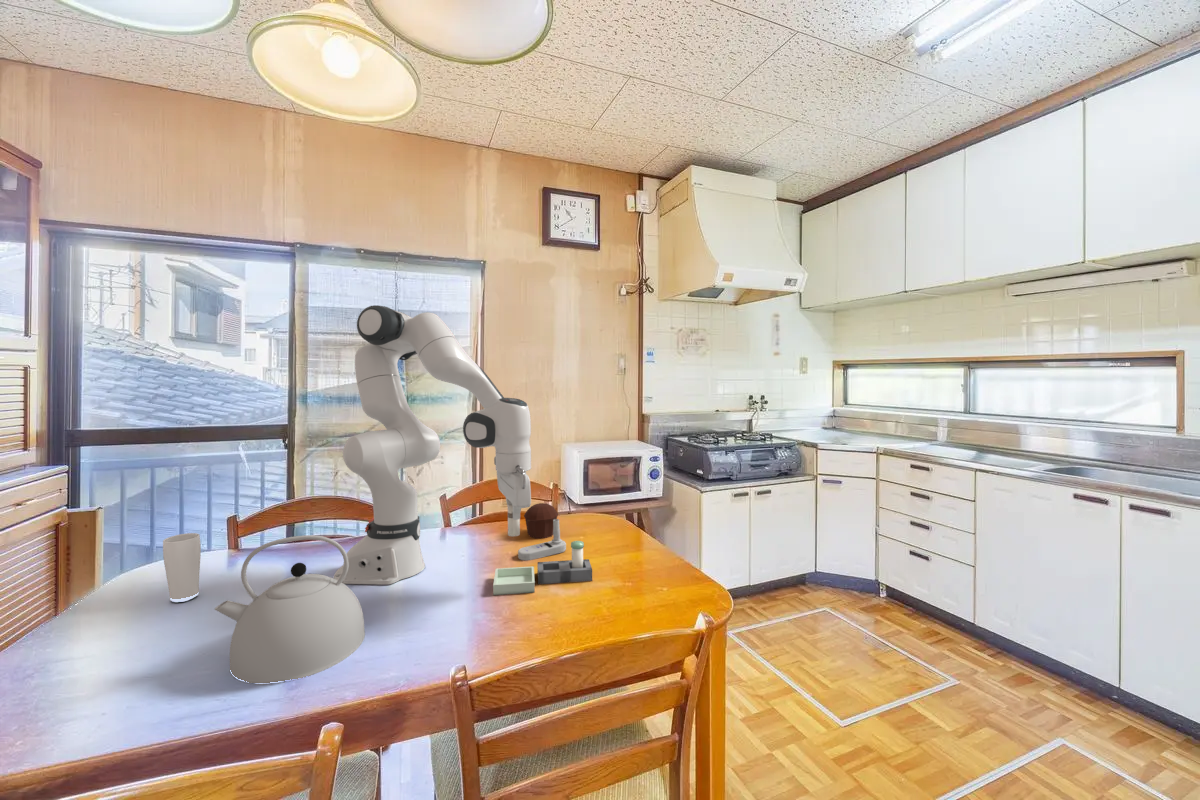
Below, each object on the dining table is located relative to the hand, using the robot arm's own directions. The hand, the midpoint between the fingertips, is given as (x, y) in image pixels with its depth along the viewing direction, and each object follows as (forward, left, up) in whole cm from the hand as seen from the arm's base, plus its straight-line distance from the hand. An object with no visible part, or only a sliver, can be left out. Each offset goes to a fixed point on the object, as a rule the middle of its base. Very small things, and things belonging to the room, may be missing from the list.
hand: (513, 516), depth 122 cm
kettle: (-42, -22, -18) cm, 51 cm away
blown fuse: (0, 0, -5) cm, 5 cm away
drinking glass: (-78, +4, -18) cm, 80 cm away
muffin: (+8, +38, -18) cm, 43 cm away
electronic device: (+8, +20, -18) cm, 28 cm away
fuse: (+17, +3, -18) cm, 25 cm away
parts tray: (0, 0, -18) cm, 18 cm away
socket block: (+13, +3, -18) cm, 22 cm away
